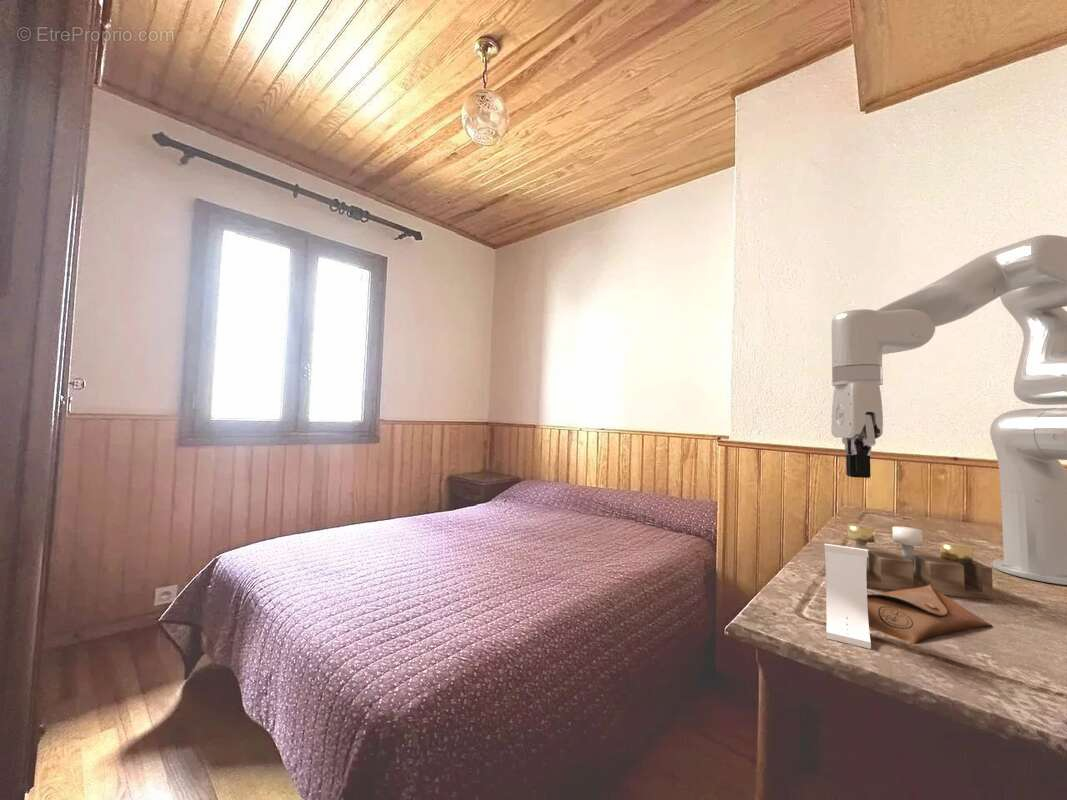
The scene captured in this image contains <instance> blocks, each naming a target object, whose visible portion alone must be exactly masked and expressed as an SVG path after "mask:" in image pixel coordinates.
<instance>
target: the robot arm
mask: <svg viewBox="0 0 1067 800" xmlns="http://www.w3.org/2000/svg"><path fill="white" fill-rule="evenodd" d="M998 298H1000V301H1001V303H1002V306H1003V307H1004V308H1005V309H1006V310H1007V311H1008V313H1009V314H1010V315H1011V316H1012V318H1013V319H1014V320H1015V321H1016V323H1017V324H1018V325H1019V327H1020V329H1021V330H1022V333H1023V334H1022V335H1023V341H1022V348H1021V353H1020V355H1019V360H1018V363H1017V367H1016V371H1015V375H1014V379H1013V391H1014V392H1013V393H1014V396H1016V398H1018V400H1020V401H1021V402H1023V403H1027V404H1032V405H1037V406H1038V405H1044V406H1046V405H1047V406H1052V405H1053V406H1058V405H1059V406H1061V405H1062V406H1063V405H1067V310H1066V309H1064V308H1065V307H1067V236H1062V235H1058V234H1057V235H1056V234H1041V235H1036V236H1032V237H1030V238H1027V239H1024V240H1021V241H1018V242H1015V243H1012V244H1009V245H1005V246H1003V247H1000V248H997V249H994V250H991V251H989V252H986V253H984V254H981V255H980V256H978V257H976V258H974V259H972V260H971V261H969V262H967V263H965V264H963V265H961V266H960V267H958V268H957V269H954V270H952V272H950V273H948V274H946V275H945V276H943V277H941V278H939V279H938V280H936V281H934V282H931V283H930V284H927V285H926V286H923V287H921V288H919V289H917V290H914V291H913V292H911V293H910V294H908V295H905V296H903V297H900V298H899V299H897V300H894V301H893V302H890V303H888V304H886V305H884V306H882V307H880V308H878V309H877V310H874V309H867V308H866V309H863V308H861V309H852V310H845V311H842V312H839V313H837V314H836V315H834V316H833V318H832V320H831V374H832V375H831V377H832V378H831V379H832V380H831V383H832V387H834V388H833V389H834V390H833V393H832V394H833V395H832V397H833V398H832V406H831V430H830V431H831V435H832V436H833V437H835V438H841V443H842V444H843V445H844V451H845V452H844V453H845V454H846V455H845V467H846V468H845V469H846V470H845V471H846V473H845V474H846V476H847V477H851V478H860V479H863V478H865V479H870V478H871V455H872V447H874V446H876V439H879V438H881V436H882V435H883V430H884V413H883V401H882V393H881V392H882V391H881V386H883V385H884V383H883V381H884V380H883V355H888V354H895V353H896V354H897V353H901V352H908V351H911V350H915V349H918V348H921V347H923V346H925V345H926V344H928V343H929V342H930V341H931V340H932V338H933V337H934V336H935V333H936V327H939V326H943V325H947V324H950V323H952V322H955V321H958V320H961V319H963V318H966V317H968V316H969V315H971V314H974V313H975V312H976V311H978V310H980V309H981V308H982V307H984V306H986V305H988V304H989V303H991V302H993V301H995V300H996V299H998ZM989 434H990V440H991V442H992V446H993V448H994V452H995V455H996V458H997V463H998V464H997V465H998V471H999V482H1000V483H999V486H1000V488H999V489H1000V503H1001V504H1000V505H1001V506H1000V507H1001V525H1002V527H1001V528H1002V530H1001V531H1002V546H1003V547H1002V548H1003V549H1002V550H1003V558H996V559H993V560H992V567H993V568H995V569H996V570H998V571H1000V572H1003V573H1005V574H1009V575H1012V576H1015V577H1020V578H1023V579H1029V580H1032V581H1033V580H1034V581H1038V582H1041V583H1042V582H1044V583H1048V584H1056V585H1063V586H1067V469H1066V467H1064V465H1063V464H1062V463H1061V461H1067V407H1057V408H1056V407H1049V408H1047V407H1046V408H1045V407H1044V408H1043V407H1041V408H1040V407H1039V408H1023V409H1022V408H1020V409H1015V410H1009V411H1006V412H1003V413H1002V414H999V415H998V416H997V417H995V418H994V419H993V421H992V422H991V425H990V429H989ZM1059 460H1060V461H1059Z"/></svg>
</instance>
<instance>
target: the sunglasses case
mask: <svg viewBox="0 0 1067 800" xmlns="http://www.w3.org/2000/svg"><path fill="white" fill-rule="evenodd" d="M867 606H868V622H869V629H873V630H875V631H878V632H880V633H883V634H886V635H888V636H890V637H893V638H896V639H898V640H902V641H904V642H907V643H910V644H911V645H917V644H919V643H922V642H924V641H927V640H929V639H930V640H931V639H933V638H937V637H940V636H945V635H949V634H955V633H958V632H964V631H969V630H974V629H980V628H981V629H982V628H988V627H992V626H993V624H991V623H990V622H987V621H985V620H984V619H982V618H981V617H979V616H977V615H976V614H975V613H973V612H971V611H969V610H968V609H966V608H965V607H964V606H962V605H960V604H958V603H957V602H956V601H954V600H953V599H951V598H949V597H948V596H947V595H943V594H942V593H940V592H938V591H937V590H935V589H934V588H932V585H931V584H930V585H927V586H925V587H920V588H912V589H904V590H891V591H886V592H882V593H869V594H868V593H867Z"/></svg>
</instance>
